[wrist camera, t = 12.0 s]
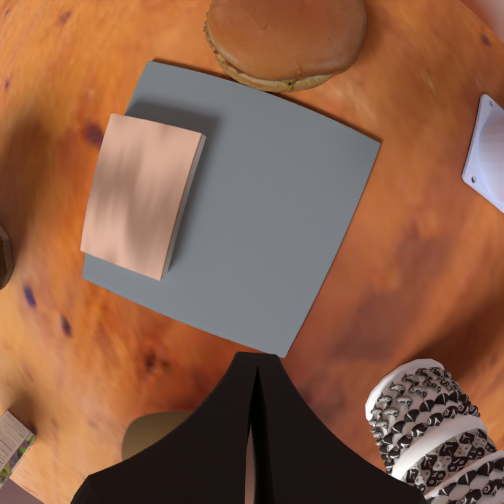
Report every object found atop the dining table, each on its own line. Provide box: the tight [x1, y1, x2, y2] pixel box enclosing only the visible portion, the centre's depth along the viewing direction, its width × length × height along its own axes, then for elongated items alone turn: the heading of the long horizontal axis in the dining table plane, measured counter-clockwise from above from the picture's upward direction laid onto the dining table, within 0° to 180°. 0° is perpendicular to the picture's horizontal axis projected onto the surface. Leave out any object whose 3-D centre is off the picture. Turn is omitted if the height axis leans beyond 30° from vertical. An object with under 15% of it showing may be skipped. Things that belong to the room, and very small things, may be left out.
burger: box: [203, 0, 368, 93], centre depth 13 cm, size 10×9×5 cm
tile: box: [80, 113, 206, 281], centre depth 17 cm, size 9×2×6 cm
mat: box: [82, 61, 381, 358], centre depth 18 cm, size 16×16×1 cm
